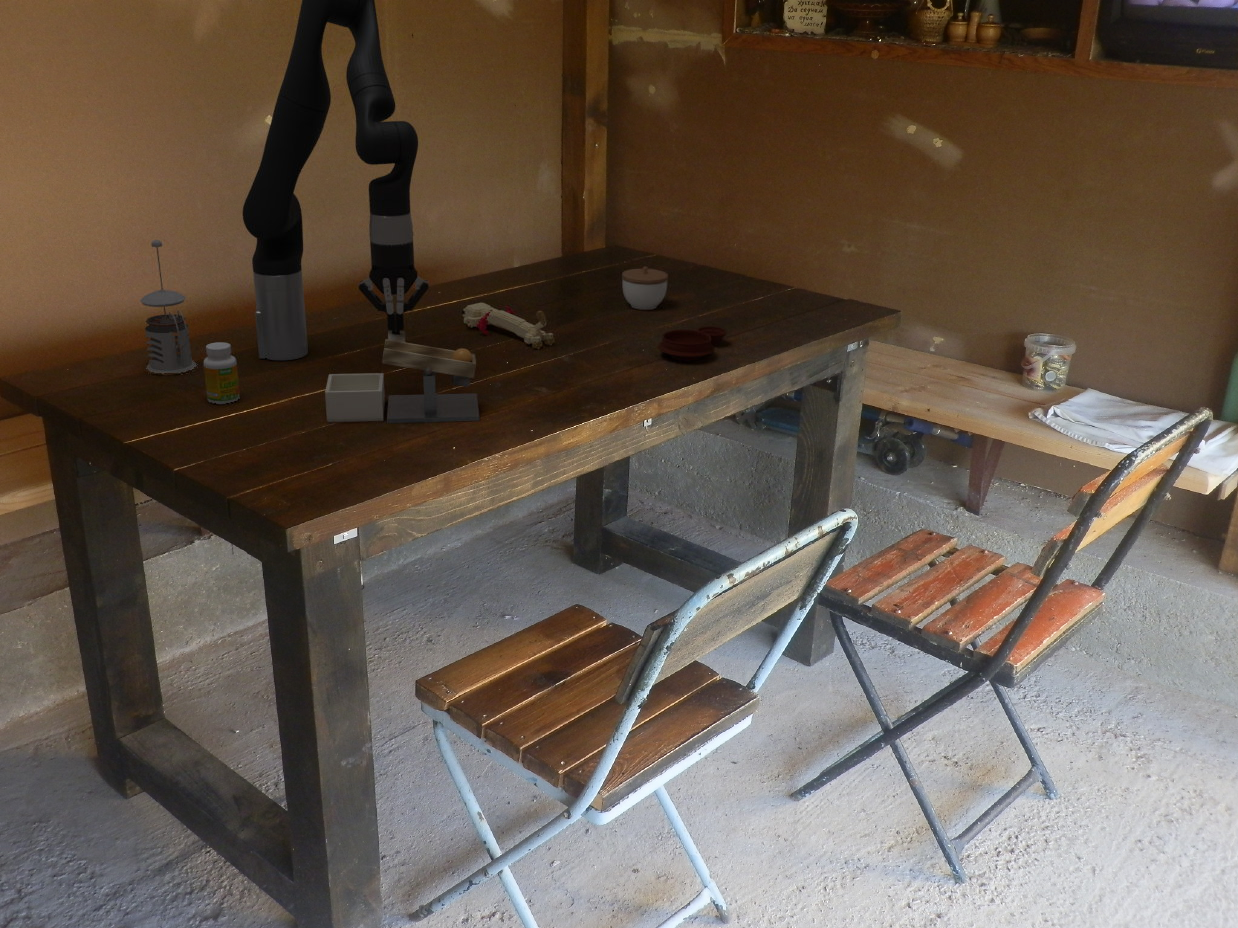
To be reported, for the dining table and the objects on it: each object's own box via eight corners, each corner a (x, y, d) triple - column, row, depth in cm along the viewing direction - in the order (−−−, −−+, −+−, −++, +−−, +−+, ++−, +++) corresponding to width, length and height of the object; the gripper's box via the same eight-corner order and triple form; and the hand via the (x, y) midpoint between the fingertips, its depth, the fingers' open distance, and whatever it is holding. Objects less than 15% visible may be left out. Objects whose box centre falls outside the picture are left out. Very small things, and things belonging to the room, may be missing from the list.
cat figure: (561, 348, 256) (482, 314, 271) (563, 310, 252) (484, 277, 267) (527, 358, 250) (448, 323, 264) (529, 319, 246) (450, 285, 260)
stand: (387, 423, 210) (385, 380, 206) (388, 399, 220) (386, 359, 217) (479, 420, 212) (478, 379, 209) (476, 397, 223) (475, 357, 220)
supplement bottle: (222, 407, 214) (216, 352, 210) (200, 400, 217) (194, 346, 213) (246, 398, 219) (241, 344, 215) (225, 392, 222) (219, 339, 218)
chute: (380, 375, 208) (384, 351, 206) (383, 348, 222) (386, 326, 220) (472, 390, 211) (476, 367, 210) (469, 363, 225) (473, 340, 223)
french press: (183, 356, 239) (169, 232, 230) (211, 371, 232) (198, 243, 222) (135, 366, 233) (118, 238, 223) (162, 382, 226) (146, 250, 216)
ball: (449, 367, 212) (456, 349, 211) (449, 361, 215) (455, 343, 214) (468, 373, 213) (475, 355, 211) (468, 367, 216) (474, 349, 215)
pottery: (646, 358, 248) (647, 338, 246) (694, 336, 263) (695, 316, 262) (696, 369, 242) (697, 348, 240) (742, 346, 258) (743, 326, 256)
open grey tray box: (327, 422, 209) (324, 392, 207) (331, 403, 218) (329, 374, 216) (383, 420, 211) (381, 391, 208) (384, 401, 219) (383, 373, 217)
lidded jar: (674, 305, 285) (676, 266, 281) (651, 315, 277) (653, 275, 273) (636, 297, 290) (637, 259, 286) (612, 307, 282) (613, 268, 278)
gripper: (352, 243, 208) (358, 339, 215) (429, 242, 210) (433, 338, 216) (354, 234, 214) (360, 327, 221) (429, 233, 216) (432, 326, 223)
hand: (396, 332), depth 219 cm, fingers closed
